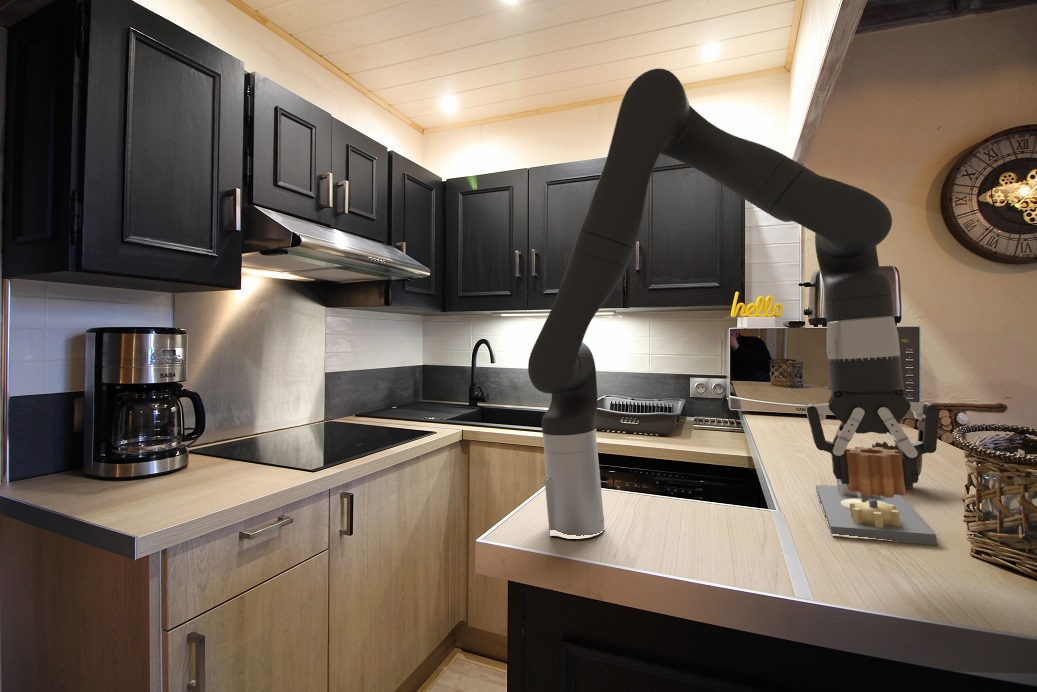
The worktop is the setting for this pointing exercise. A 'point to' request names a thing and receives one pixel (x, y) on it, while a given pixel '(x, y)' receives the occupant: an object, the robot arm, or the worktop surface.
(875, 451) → the idler gear
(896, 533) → the gear board
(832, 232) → the robot arm
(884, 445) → the cup
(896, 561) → the worktop surface
